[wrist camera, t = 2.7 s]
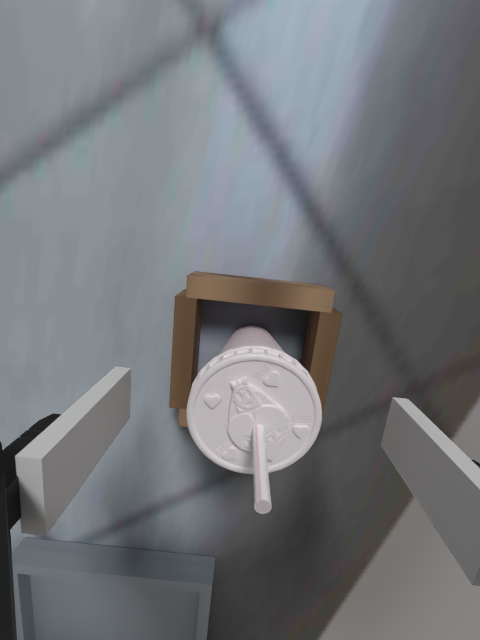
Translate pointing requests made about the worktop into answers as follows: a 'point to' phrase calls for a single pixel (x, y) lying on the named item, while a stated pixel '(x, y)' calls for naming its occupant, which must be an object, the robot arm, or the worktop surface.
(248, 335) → the smoothie
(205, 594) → the tray
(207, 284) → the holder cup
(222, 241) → the worktop surface
